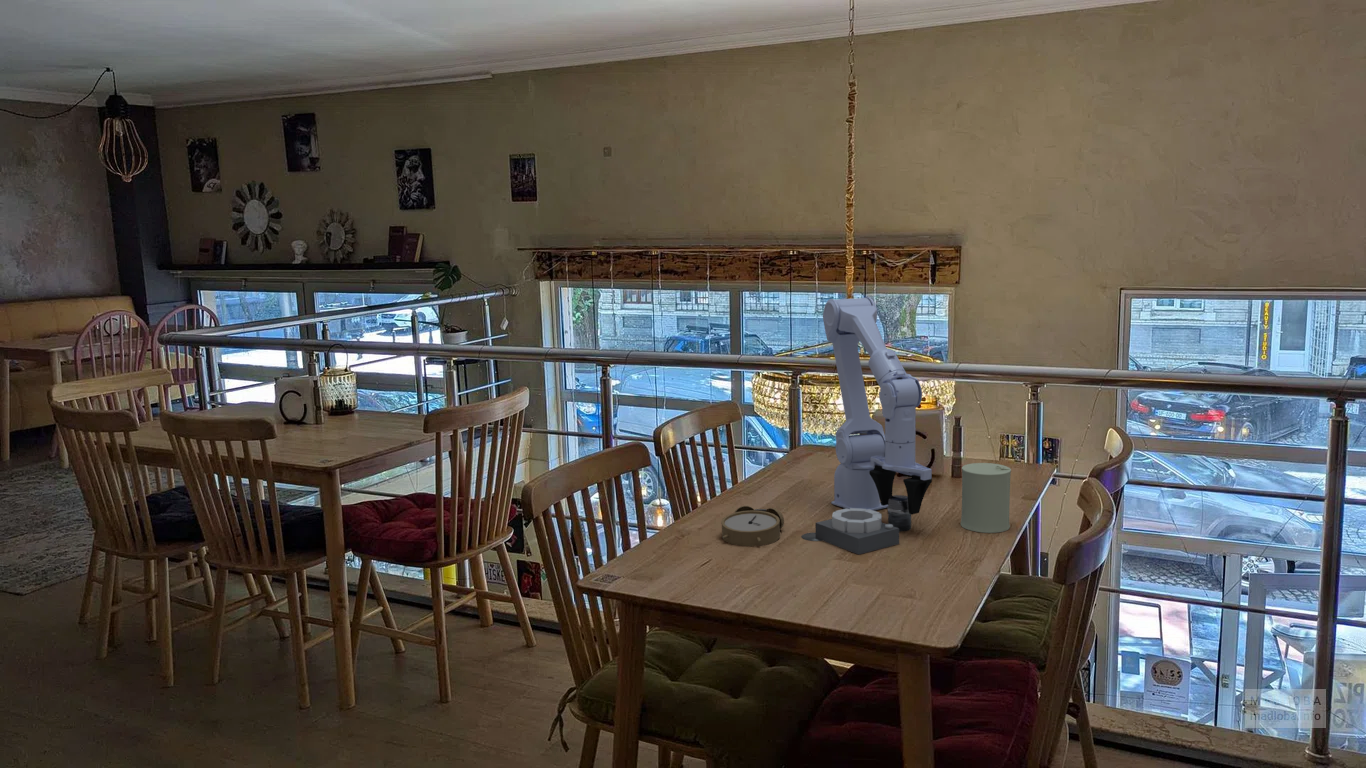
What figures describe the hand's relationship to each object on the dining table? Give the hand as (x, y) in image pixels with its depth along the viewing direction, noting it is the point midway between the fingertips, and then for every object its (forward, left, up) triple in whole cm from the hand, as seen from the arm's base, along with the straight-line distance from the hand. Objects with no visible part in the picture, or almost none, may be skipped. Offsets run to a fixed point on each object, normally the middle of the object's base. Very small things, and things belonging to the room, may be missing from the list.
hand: (899, 508), depth 189 cm
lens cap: (-6, -17, -5) cm, 18 cm away
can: (+9, +14, -4) cm, 17 cm away
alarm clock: (-14, -25, -4) cm, 29 cm away
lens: (0, 0, -4) cm, 4 cm away
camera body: (+1, -12, -4) cm, 13 cm away
